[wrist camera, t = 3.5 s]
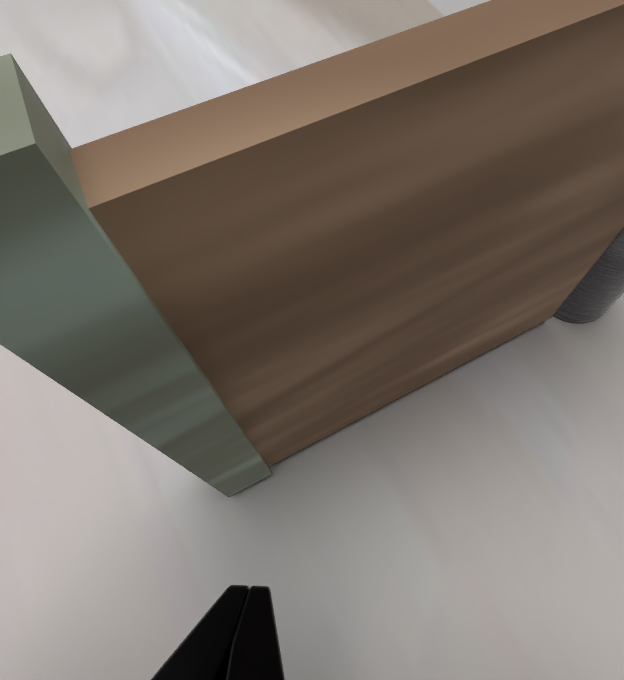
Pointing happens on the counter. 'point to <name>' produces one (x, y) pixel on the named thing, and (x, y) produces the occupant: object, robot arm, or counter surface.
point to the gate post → (597, 286)
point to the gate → (315, 230)
